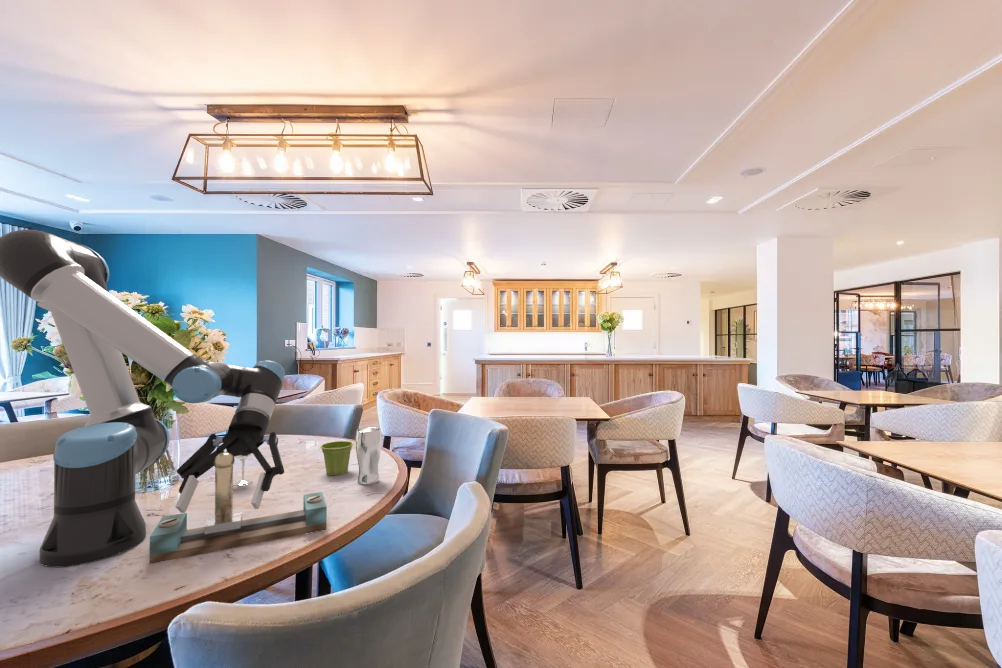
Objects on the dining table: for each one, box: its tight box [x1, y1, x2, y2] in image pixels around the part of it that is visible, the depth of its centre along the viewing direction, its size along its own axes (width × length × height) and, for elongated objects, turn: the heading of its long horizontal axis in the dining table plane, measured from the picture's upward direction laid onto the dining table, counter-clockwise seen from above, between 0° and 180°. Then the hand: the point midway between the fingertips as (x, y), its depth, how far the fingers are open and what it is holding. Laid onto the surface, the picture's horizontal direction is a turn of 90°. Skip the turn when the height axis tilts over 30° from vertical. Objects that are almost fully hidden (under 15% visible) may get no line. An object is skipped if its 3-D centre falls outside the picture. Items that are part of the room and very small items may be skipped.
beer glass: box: [355, 426, 382, 486], centre depth 123 cm, size 7×7×15 cm
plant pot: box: [320, 440, 354, 476], centre depth 131 cm, size 9×9×9 cm
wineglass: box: [233, 453, 254, 486], centre depth 122 cm, size 7×7×12 cm
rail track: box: [148, 491, 328, 565], centre depth 89 cm, size 30×10×6 cm, turn 118°
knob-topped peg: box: [204, 451, 243, 534], centre depth 87 cm, size 6×5×15 cm
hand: (217, 508), depth 84 cm, fingers open, 13 cm apart
